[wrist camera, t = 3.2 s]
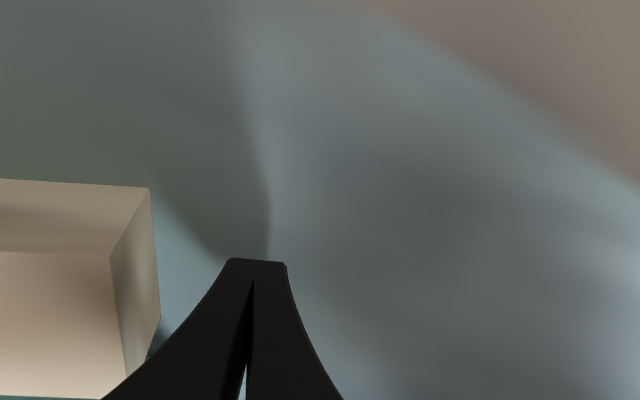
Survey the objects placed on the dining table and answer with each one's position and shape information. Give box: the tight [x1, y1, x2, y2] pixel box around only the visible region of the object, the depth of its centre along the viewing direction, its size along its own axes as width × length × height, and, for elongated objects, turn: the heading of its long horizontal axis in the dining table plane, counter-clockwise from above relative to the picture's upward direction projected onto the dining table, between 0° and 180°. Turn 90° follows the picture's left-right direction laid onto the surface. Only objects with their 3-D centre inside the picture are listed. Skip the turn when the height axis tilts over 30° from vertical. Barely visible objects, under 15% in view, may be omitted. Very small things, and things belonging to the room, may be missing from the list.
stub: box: [0, 178, 161, 399], centre depth 12 cm, size 4×5×3 cm
